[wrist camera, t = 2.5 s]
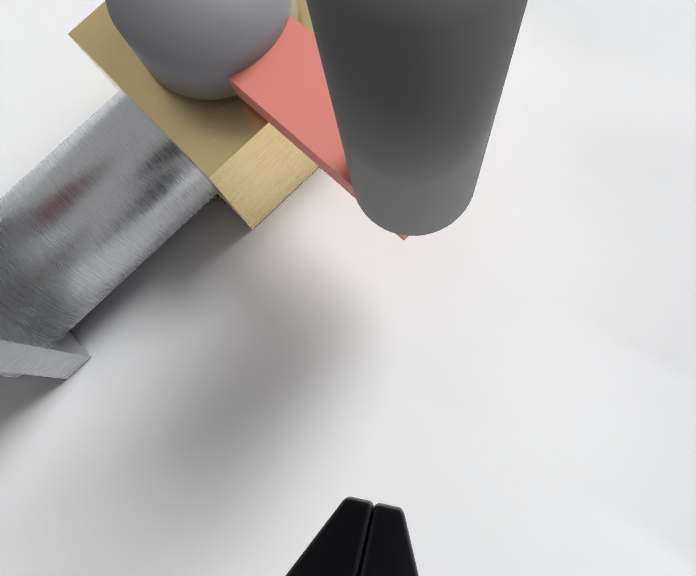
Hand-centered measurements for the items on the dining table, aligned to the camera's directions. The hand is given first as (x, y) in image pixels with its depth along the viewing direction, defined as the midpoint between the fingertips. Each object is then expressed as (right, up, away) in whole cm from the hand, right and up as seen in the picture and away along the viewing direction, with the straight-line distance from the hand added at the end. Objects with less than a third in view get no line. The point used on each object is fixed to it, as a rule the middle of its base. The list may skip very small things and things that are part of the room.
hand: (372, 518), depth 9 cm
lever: (-2, +8, +7) cm, 11 cm away
